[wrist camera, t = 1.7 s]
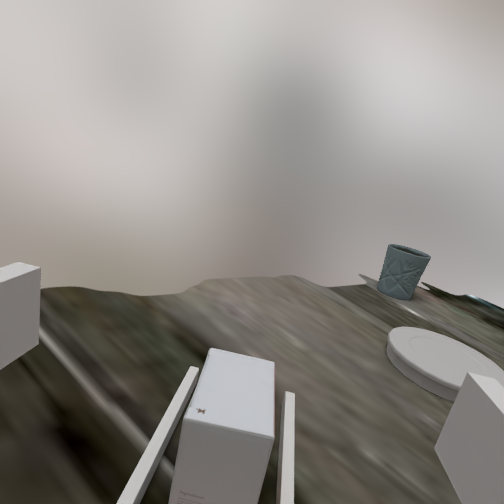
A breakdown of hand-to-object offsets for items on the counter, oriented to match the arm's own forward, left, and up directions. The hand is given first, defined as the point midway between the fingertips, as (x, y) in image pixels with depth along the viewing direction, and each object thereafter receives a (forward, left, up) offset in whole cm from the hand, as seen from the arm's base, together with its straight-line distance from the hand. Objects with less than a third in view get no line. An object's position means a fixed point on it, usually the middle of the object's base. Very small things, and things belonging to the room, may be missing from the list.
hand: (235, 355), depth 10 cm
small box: (0, +11, -20) cm, 23 cm away
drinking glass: (+33, +76, -20) cm, 85 cm away
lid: (+30, +42, -20) cm, 55 cm away
